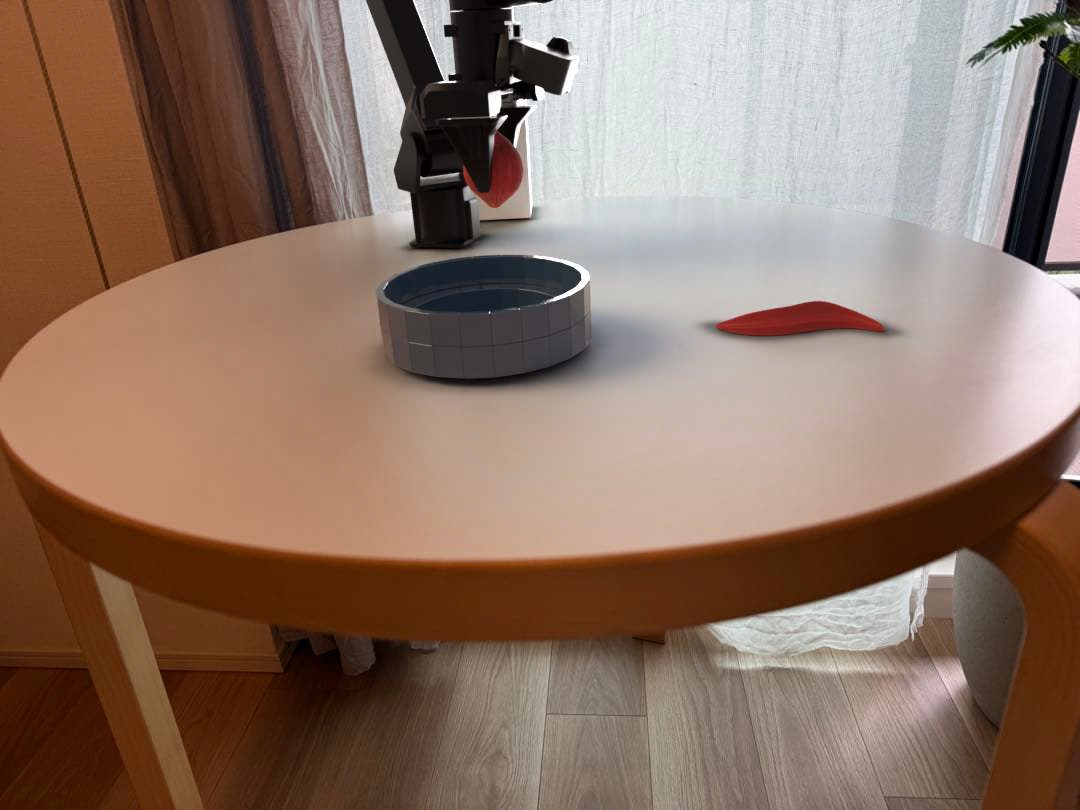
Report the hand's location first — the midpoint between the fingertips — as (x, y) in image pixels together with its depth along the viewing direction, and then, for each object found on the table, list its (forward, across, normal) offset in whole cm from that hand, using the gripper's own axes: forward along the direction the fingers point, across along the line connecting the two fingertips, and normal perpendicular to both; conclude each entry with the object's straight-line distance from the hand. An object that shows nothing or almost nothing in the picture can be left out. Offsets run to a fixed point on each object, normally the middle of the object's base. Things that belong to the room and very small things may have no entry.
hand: (494, 187), depth 81 cm
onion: (+2, 0, 0) cm, 2 cm away
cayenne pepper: (+8, -17, -29) cm, 34 cm away
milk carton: (+8, +23, +7) cm, 25 cm away
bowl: (+8, -24, -7) cm, 26 cm away
